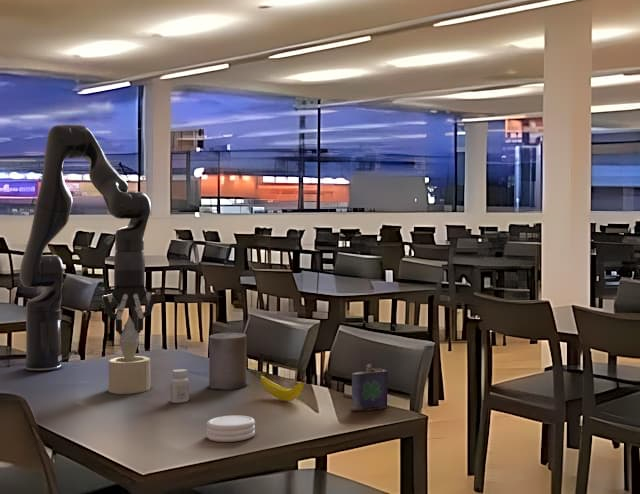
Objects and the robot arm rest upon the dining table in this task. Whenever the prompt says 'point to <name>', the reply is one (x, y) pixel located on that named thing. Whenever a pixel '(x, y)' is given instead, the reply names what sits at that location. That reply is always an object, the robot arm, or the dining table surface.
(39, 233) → the robot arm
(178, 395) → the pill bottle
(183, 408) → the dining table surface
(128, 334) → the grey tall pointed piece
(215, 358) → the pillar candle
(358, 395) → the flask
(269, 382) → the banana
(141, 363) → the hollow cream cylinder
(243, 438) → the coaster
